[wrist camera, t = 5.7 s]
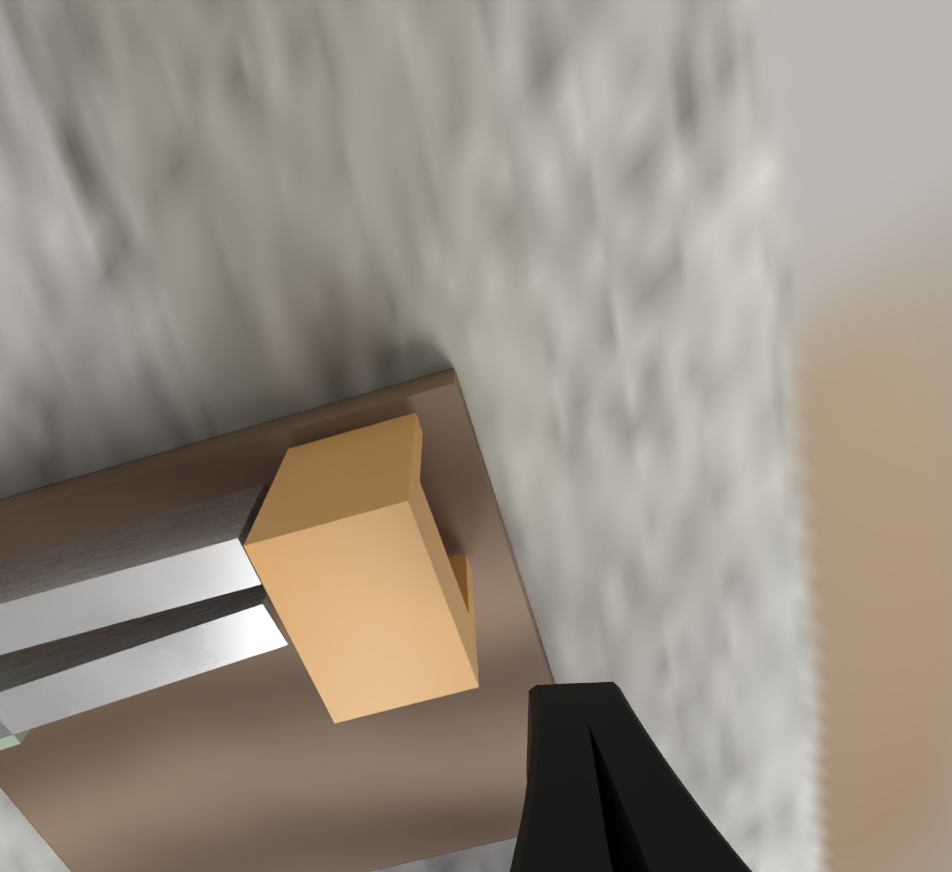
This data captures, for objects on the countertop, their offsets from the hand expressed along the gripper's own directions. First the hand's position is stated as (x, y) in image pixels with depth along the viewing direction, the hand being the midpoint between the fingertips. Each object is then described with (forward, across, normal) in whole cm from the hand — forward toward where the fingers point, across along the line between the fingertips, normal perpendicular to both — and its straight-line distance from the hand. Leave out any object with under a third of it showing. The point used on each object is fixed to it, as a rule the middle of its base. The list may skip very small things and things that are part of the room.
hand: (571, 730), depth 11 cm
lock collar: (+6, +3, 0) cm, 7 cm away
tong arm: (+6, +10, +3) cm, 12 cm away
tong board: (+8, +7, +6) cm, 12 cm away
